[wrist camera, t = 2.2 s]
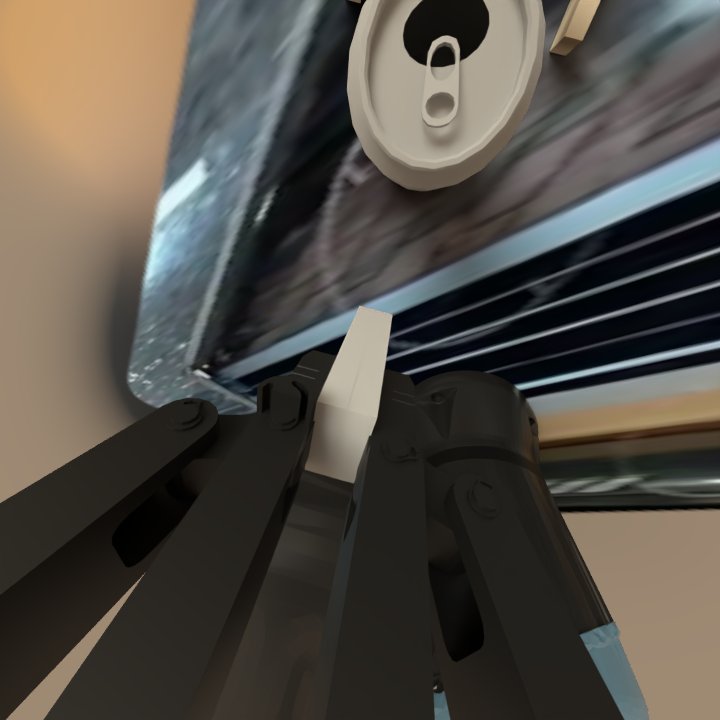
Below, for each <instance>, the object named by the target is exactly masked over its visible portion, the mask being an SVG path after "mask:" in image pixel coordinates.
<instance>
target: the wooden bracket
mask: <svg viewBox="0 0 720 720" xmlns="http://www.w3.org/2000/svg"><path fill="white" fill-rule="evenodd" d="M350 1H353V2H357V3H361V0H350ZM600 1H601V0H571V1H570V3H569V5H568V8H567V10H566V13H565V15H564V18H563V20H562V22H561V25H560V27H559V30H558V32H557V34H556V37H555V39H554V42H553V44H552V47H551V49H550V51H549V52H552V53H556V54H560V55H564V56H566V55H567V54H568V53H569V52H570V51H571V50H572V49H574V48H575V47H576V46H577V45H578V44H579V43H580V42H581V41H583V38H584V36H585V34H586V32H587V30H588V27H589V25H590V23H591V21H592V18H593V16H594V14H595V12H596V10H597V7H598V5H599V3H600Z"/></svg>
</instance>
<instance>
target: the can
mask: <svg viewBox="0 0 720 720" xmlns="http://www.w3.org/2000/svg"><path fill="white" fill-rule="evenodd" d="M544 36H545V19H544V13H543V8H542V2H541V0H366V2H365V4H364V5H363V7H362V10H361V13H360V17H359V20H358V24H357V27H356V30H355V34H354V37H353V40H352V44H351V47H350V54H349V69H348V84H347V92H348V98H349V104H350V110H351V117H352V123H353V126H354V129H355V131H356V133H357V135H358V138H359V140H360V142H361V145H362V147H363V149H364V151H365V154H366V155H367V156H368V157H369V158H370V159H371V161H372V162H373V163H374V164H375V165H376V166H377V167H378V169H379V170H380V171H381V172H382V173H383V174H384V175H385V176H386V177H388V178H389V179H391V180H392V181H394V182H395V183H397V184H399V185H401V186H403V187H404V188H406V189H409V190H417V191H429V190H434V189H438V188H443V187H447V186H452V185H456V184H458V183H460V182H462V181H463V180H465V179H467V178H469V177H470V176H472V175H474V174H475V173H477V172H479V171H480V170H482V169H484V168H485V167H486V166H487V165H488V163H489V162H490V161H491V160H492V159H493V158H494V157H495V156H496V155H497V154H498V153H499V152H500V151H501V150H502V149H503V148H504V147H505V146H506V145H507V144H508V142H509V141H510V139H511V137H512V136H513V134H514V132H515V131H516V129H517V128H518V126H519V124H520V123H521V121H522V119H523V118H524V116H525V114H526V113H527V111H528V108H529V105H530V102H531V99H532V96H533V93H534V90H535V87H536V84H537V81H538V78H539V75H540V72H541V69H542V58H543V47H544Z"/></svg>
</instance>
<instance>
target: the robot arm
mask: <svg viewBox="0 0 720 720" xmlns="http://www.w3.org/2000/svg"><path fill="white" fill-rule="evenodd" d="M391 321H392V314H388V313H384V312H381V311H377V310H373V309H370V308H366V307H362V306H359V308H358V310H357V313H356V315H355V317H354V319H353V322H352V324H351V326H350V328H349V331H348V333H347V335H346V337H345V340H344V342H343V344H342V346H341V349H340V351H339V353H338V355H337V357H336V356H333V355H329V354H325V353H322V352H318V351H314V350H313V351H311V352H310V353H308V354H306V355H304V356H303V357H302V359H301V360H300V362H299V363H298V366H297V367H296V368H295V370H294V371H293V374H291V376H275V377H272V378H269V379H266V380H264V381H263V382H262V383H260V384H259V385H258V386H257V412H256V413H252V414H247V415H218V411H217V408H216V407H215V406H214V405H213V404H212V403H211V402H209V401H206V400H203V399H199V398H186V399H181V400H176V401H173V402H171V403H168V404H166V405H164V406H162V407H160V408H159V409H157V410H155V411H154V412H152V413H150V414H149V415H147V416H145V417H144V418H142V419H140V420H139V421H137V422H135V423H134V424H132V425H130V426H129V427H127V428H125V429H124V430H122V431H120V432H119V433H117V434H115V435H114V436H112V437H110V438H109V439H107V440H105V441H103V442H102V443H100V444H98V445H97V446H95V447H94V448H92V449H90V450H88V451H87V452H85V453H83V454H82V455H80V456H79V457H77V458H75V459H73V460H72V461H70V462H68V463H67V464H65V465H64V466H62V467H60V468H58V469H57V470H55V471H53V472H52V473H50V474H48V475H47V476H45V477H43V478H42V479H40V480H39V481H37V482H35V483H33V484H32V485H30V486H28V487H27V488H25V489H23V490H22V491H20V492H18V493H17V494H15V495H13V496H12V497H10V498H8V499H7V500H5V501H3V502H1V503H0V720H6V719H7V718H8V716H9V715H10V714H11V713H12V712H13V711H14V710H15V709H16V708H17V707H18V706H19V705H20V704H21V703H22V702H23V701H24V700H25V699H26V698H27V696H28V695H29V694H30V693H31V692H32V691H33V690H34V689H35V688H36V687H37V686H38V685H39V684H40V683H41V682H42V681H43V680H44V679H45V677H47V675H48V674H49V673H50V672H51V671H52V670H53V669H54V668H55V667H56V666H57V665H58V664H59V663H60V662H61V661H62V660H63V659H64V658H65V656H66V655H67V654H68V653H69V652H70V651H71V650H72V649H73V648H74V647H75V646H76V645H77V644H78V643H79V642H80V641H81V640H82V639H83V638H84V637H85V635H86V634H87V633H88V632H89V631H90V630H91V629H92V628H93V627H94V626H95V625H96V624H97V622H99V621H100V619H102V618H103V616H104V615H105V614H106V613H107V612H108V611H109V610H110V609H111V608H112V607H113V606H114V605H115V604H116V603H117V602H118V601H119V600H120V598H121V597H122V596H123V595H124V594H125V593H126V592H127V591H128V590H129V589H130V588H131V587H132V586H133V585H134V584H135V583H136V582H137V581H138V580H139V579H140V578H141V576H142V575H143V574H144V573H145V572H146V573H145V574H144V576H143V577H142V578H141V580H140V581H139V583H138V585H137V586H136V587H135V589H134V590H133V592H132V593H131V594H130V596H129V597H128V599H127V600H126V602H125V603H124V604H123V606H122V607H121V609H120V610H119V612H118V613H117V615H116V616H115V617H114V619H113V621H112V622H111V623H110V625H109V626H108V628H107V629H106V630H105V632H104V633H103V635H102V636H101V638H100V639H99V641H98V642H97V643H96V645H95V646H94V648H93V649H92V651H91V652H90V654H89V655H88V656H87V658H86V659H85V661H84V662H83V664H82V665H81V667H80V668H79V669H78V671H77V673H76V674H75V675H74V677H73V678H72V679H71V681H70V682H69V684H68V685H67V687H66V688H65V690H64V691H63V693H62V694H61V695H60V697H59V699H58V700H57V701H56V703H55V704H54V705H53V707H52V708H51V710H50V711H49V713H48V714H47V716H46V717H45V718H44V720H649V715H648V708H647V705H646V702H645V699H644V697H643V694H642V692H641V690H640V687H639V685H638V683H637V680H636V678H635V676H634V673H633V671H632V668H631V666H630V664H629V661H628V659H627V657H626V654H625V652H624V649H623V647H622V644H621V642H620V640H619V636H620V631H619V629H618V628H617V626H616V624H615V622H614V621H613V619H612V617H611V615H610V613H609V611H608V609H607V607H606V605H605V603H604V601H603V599H602V597H601V594H600V592H599V591H598V589H597V586H596V584H595V582H594V580H593V578H592V576H591V574H590V572H589V570H588V568H587V566H586V564H585V562H584V560H583V558H582V556H581V554H580V552H579V550H578V548H577V546H576V543H575V541H574V539H573V537H572V536H571V533H570V531H569V529H568V527H567V525H566V523H565V521H564V519H563V517H562V515H561V513H560V511H559V509H558V507H557V505H556V503H555V501H554V499H553V497H552V494H551V492H550V490H549V488H548V487H547V485H546V482H545V480H544V478H543V476H542V473H541V471H540V459H539V439H538V425H537V421H536V417H535V415H534V412H533V411H532V409H531V407H530V405H529V403H528V402H527V400H526V398H525V397H524V395H523V394H522V393H521V392H520V390H518V389H517V388H516V387H515V386H514V385H513V384H511V383H510V382H508V381H506V380H504V379H502V378H500V377H498V376H495V375H492V374H489V373H484V372H479V371H453V372H447V373H442V374H439V375H436V376H433V377H430V378H428V379H426V380H424V381H422V382H420V383H419V384H417V385H416V386H414V384H413V382H412V380H411V379H410V377H409V375H405V374H401V373H398V372H394V371H391V370H387V369H384V368H385V362H386V355H387V348H388V341H389V335H390V328H391Z"/></svg>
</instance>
